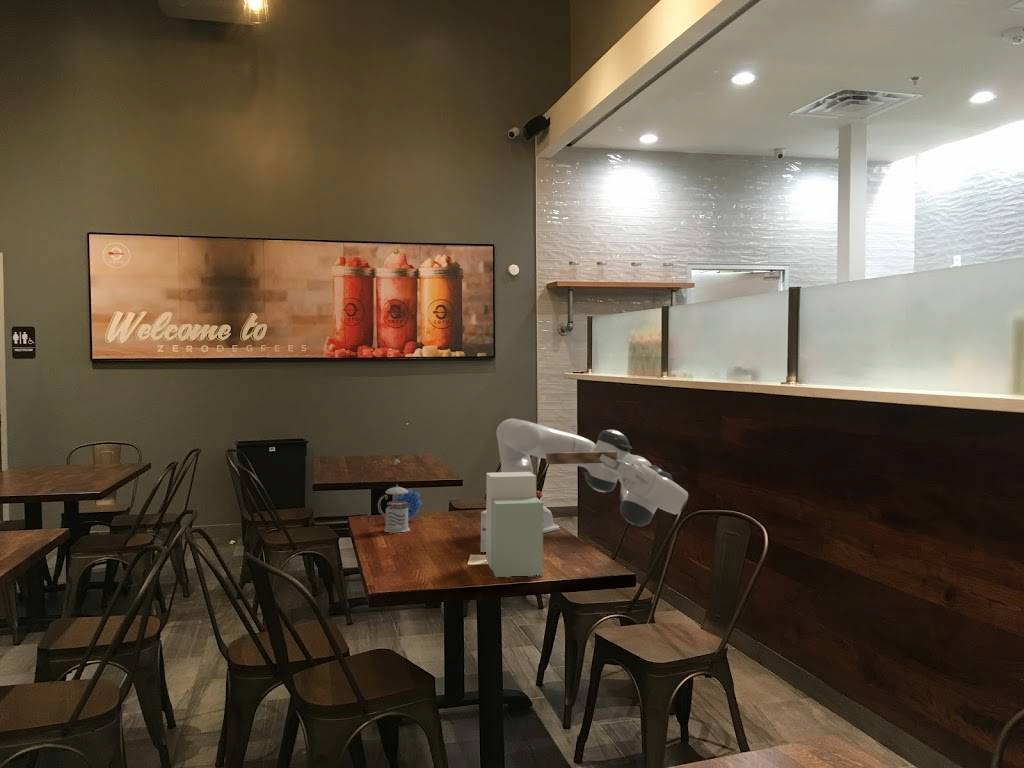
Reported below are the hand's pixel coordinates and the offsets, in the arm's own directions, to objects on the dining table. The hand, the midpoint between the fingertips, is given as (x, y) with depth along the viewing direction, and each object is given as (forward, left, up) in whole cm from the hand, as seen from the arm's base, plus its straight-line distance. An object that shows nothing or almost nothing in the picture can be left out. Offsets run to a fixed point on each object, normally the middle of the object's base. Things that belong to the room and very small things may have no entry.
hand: (597, 455), depth 219 cm
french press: (+25, -78, -32) cm, 88 cm away
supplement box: (+13, -32, -32) cm, 47 cm away
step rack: (+20, -12, -32) cm, 40 cm away
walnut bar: (+4, -2, -2) cm, 5 cm away
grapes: (+14, -91, -32) cm, 98 cm away
